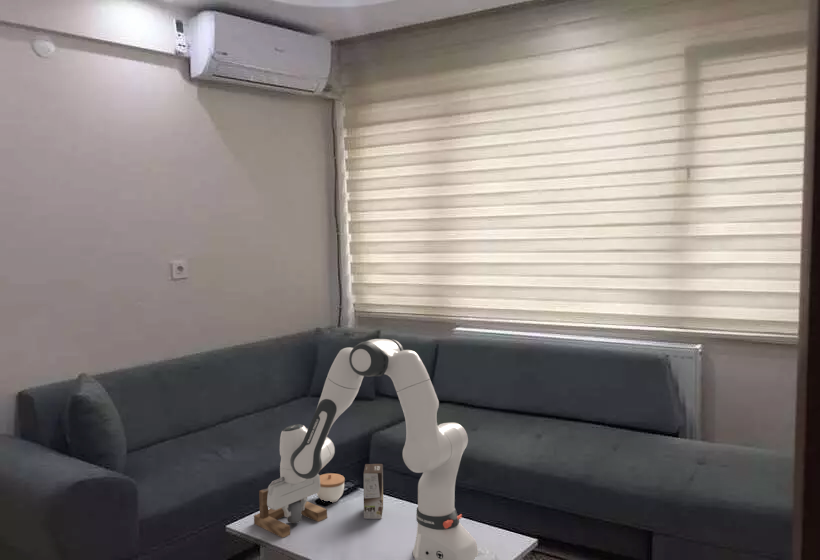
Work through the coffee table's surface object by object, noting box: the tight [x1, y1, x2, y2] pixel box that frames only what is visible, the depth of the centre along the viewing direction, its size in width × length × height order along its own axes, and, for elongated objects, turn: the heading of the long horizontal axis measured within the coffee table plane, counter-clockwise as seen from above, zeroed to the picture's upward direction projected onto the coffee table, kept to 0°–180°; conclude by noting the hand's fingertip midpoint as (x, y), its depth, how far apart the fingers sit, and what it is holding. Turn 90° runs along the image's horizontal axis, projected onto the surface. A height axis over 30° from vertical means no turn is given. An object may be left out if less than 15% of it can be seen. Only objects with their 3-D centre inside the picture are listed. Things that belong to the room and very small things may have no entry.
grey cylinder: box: [286, 501, 302, 524], centre depth 229 cm, size 5×5×6 cm
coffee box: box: [363, 463, 384, 520], centre depth 237 cm, size 9×6×16 cm
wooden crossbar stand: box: [253, 487, 328, 539], centre depth 231 cm, size 15×19×12 cm
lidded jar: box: [316, 472, 346, 504], centre depth 249 cm, size 11×11×9 cm
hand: (294, 513), depth 229 cm, fingers closed on grey cylinder, 4 cm apart
